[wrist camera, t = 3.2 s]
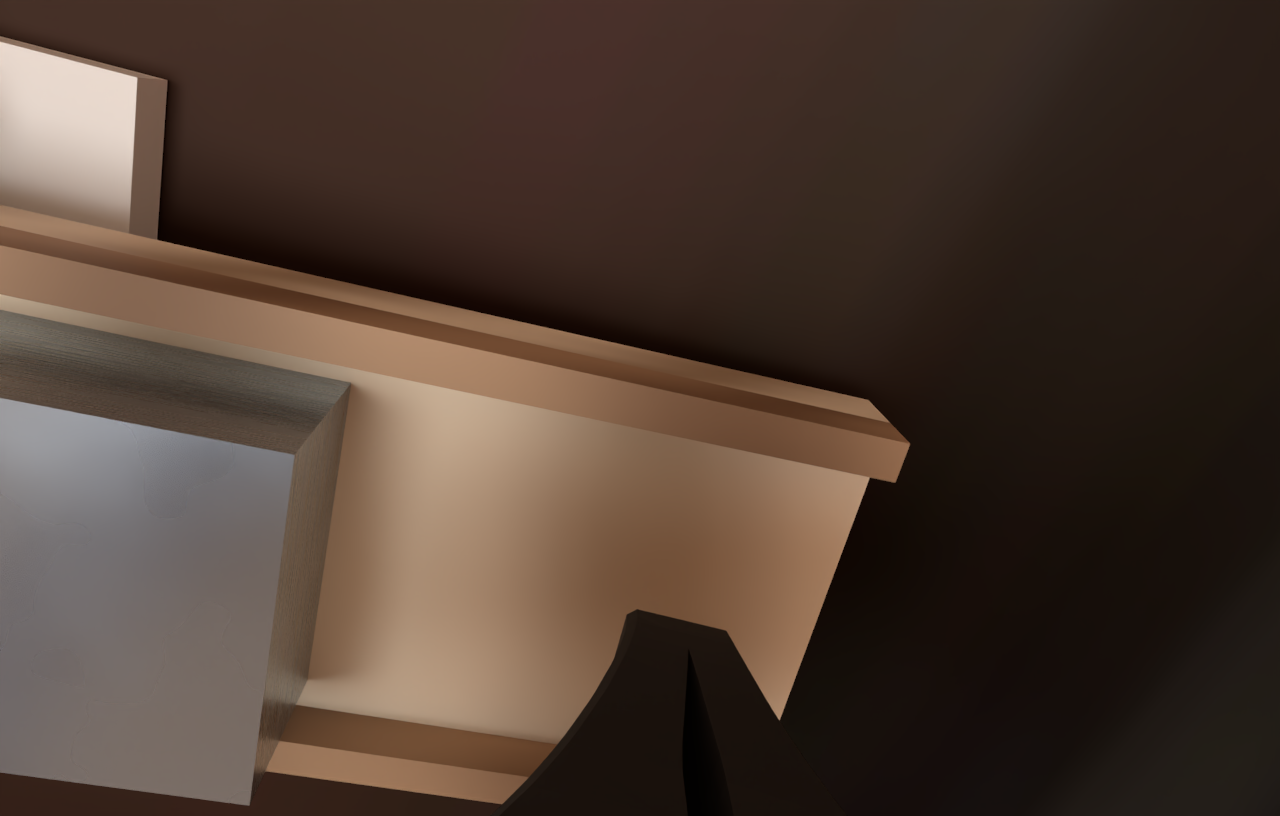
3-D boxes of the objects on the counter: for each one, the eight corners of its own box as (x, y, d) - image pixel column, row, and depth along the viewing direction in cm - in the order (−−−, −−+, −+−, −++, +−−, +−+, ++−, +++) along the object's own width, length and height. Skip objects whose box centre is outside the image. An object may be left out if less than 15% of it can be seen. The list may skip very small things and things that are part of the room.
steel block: (307, 679, 13) (249, 805, 11) (-42, 625, 12) (-185, 747, 10) (351, 382, 12) (294, 454, 9) (-45, 300, 11) (-215, 356, 9)
